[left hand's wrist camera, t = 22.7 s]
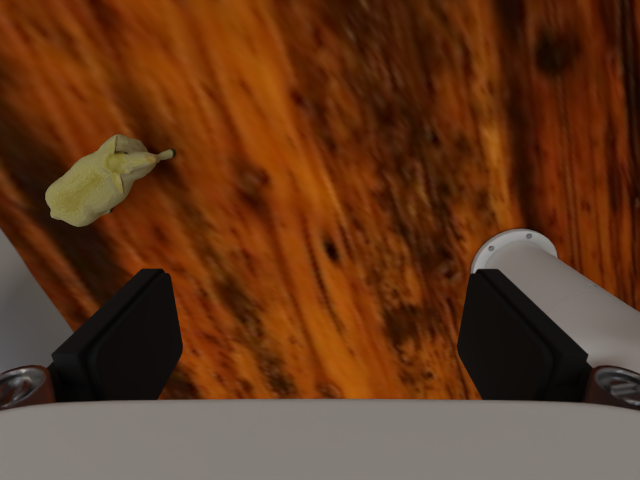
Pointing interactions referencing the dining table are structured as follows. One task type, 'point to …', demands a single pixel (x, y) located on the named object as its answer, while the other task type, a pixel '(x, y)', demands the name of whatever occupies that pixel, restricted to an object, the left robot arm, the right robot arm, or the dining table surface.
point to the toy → (101, 180)
